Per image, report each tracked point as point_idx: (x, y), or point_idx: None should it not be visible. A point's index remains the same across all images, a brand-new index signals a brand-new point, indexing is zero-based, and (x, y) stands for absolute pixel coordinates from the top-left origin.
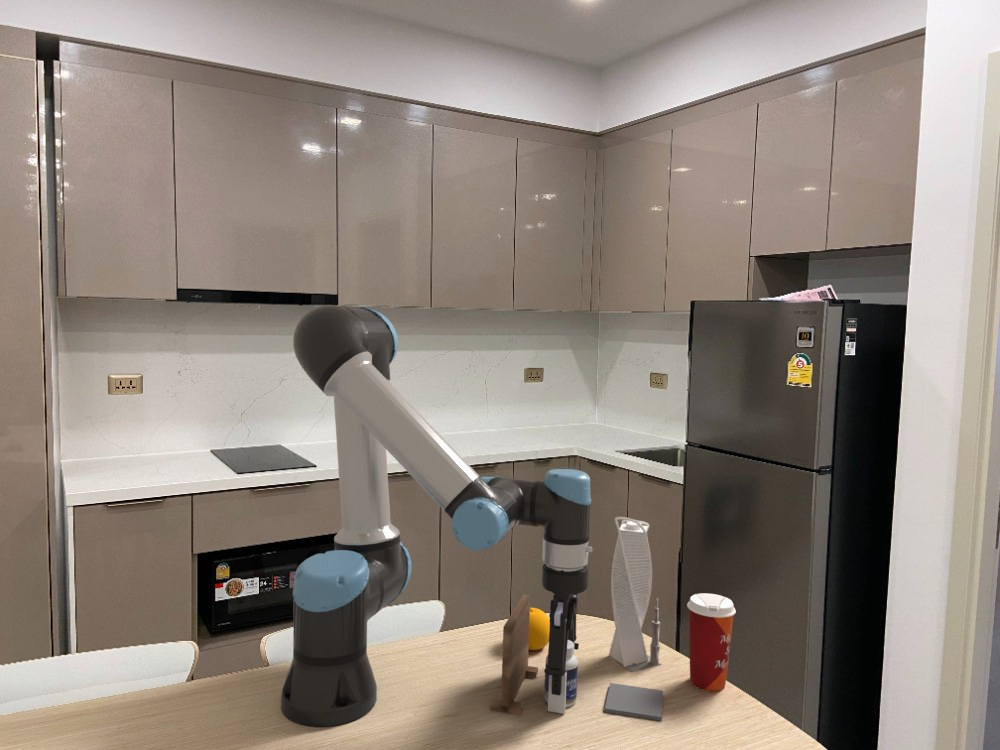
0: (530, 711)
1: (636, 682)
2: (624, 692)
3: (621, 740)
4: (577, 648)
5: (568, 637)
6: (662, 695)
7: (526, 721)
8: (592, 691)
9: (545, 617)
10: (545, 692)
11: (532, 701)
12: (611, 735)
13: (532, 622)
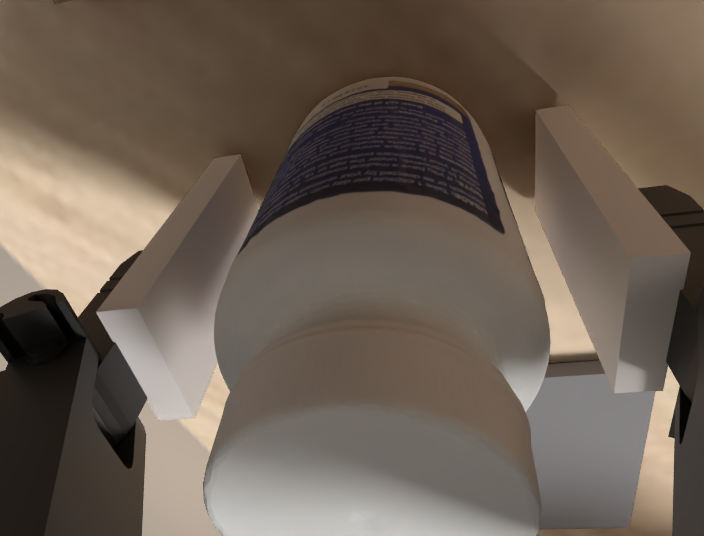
0: (165, 49)
1: None
2: (565, 429)
3: (210, 445)
4: (673, 434)
5: (680, 507)
6: (583, 527)
7: (51, 72)
8: (566, 296)
9: None
10: (313, 118)
11: (288, 9)
12: (218, 418)
13: None
